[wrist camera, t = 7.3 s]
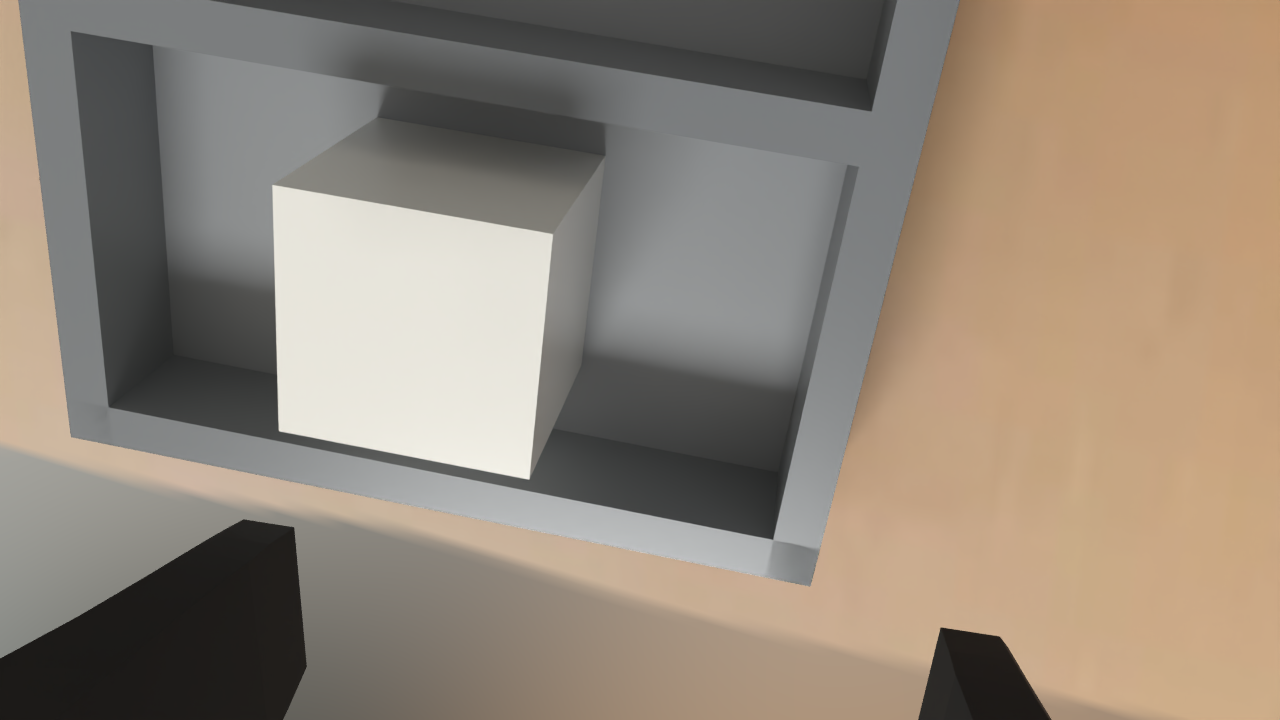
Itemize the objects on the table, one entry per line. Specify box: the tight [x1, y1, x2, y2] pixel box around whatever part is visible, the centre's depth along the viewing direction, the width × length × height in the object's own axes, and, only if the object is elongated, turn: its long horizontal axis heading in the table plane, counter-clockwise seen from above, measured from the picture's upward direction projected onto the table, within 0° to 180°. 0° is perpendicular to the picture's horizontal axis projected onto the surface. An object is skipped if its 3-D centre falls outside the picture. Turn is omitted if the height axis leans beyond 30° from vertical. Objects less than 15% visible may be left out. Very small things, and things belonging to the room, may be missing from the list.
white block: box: [272, 117, 606, 480], centre depth 18 cm, size 4×4×4 cm
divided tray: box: [18, 0, 960, 586], centre depth 17 cm, size 14×16×3 cm
